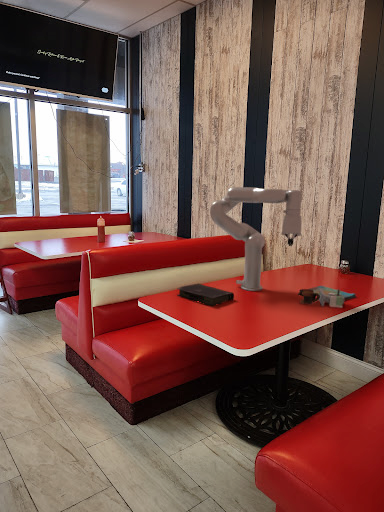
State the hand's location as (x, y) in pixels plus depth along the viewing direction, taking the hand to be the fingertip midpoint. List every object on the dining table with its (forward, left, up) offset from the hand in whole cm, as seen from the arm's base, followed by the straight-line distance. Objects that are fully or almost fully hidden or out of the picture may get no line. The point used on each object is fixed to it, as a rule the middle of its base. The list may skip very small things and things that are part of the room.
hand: (290, 245), depth 214 cm
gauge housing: (+24, -15, -27) cm, 39 cm away
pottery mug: (+11, -16, -27) cm, 33 cm away
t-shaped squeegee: (+22, -15, -27) cm, 38 cm away
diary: (-43, -24, -28) cm, 57 cm away
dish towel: (+24, +4, -28) cm, 37 cm away
